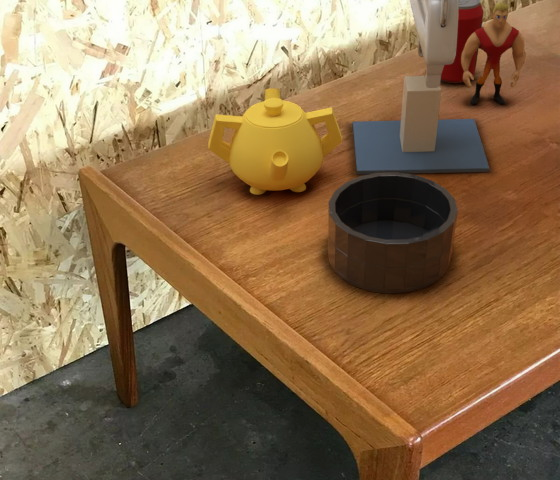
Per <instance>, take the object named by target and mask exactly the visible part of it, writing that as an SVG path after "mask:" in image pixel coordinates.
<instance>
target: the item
mask: <svg viewBox="0 0 560 480" xmlns="http://www.w3.org/2000/svg"><path fill="white" fill-rule="evenodd" d="M441 97H442V88H441V85H440V86H439V87H437V88H428V87H427V86H426V83H425V75H404V76H403V88H402V102H401V114H400V115H401V116H400V120H401V126H400V141H401V147H402V152H431V151H435V143H436V134H437V125H438V120H439V115H440V106H441Z"/></svg>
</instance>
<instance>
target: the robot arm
mask: <svg viewBox="0 0 560 480" xmlns="http://www.w3.org/2000/svg"><path fill="white" fill-rule="evenodd" d="M409 5H410V8H411V13H412V18H413V21H414V24H415V28H416V32H417V53H418V56H419V57H420V58H423V61H424V63H425V66H426V69H425V75H424V76H425V83H426V86H427V87H428V88H437V87H439V86H440V87H441V81H442V80H441V74H442V70H443V67H444V65H449V64H452V63H453V62H454V59H455V56H456V46H457V32H458V0H409Z"/></svg>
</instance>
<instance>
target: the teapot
mask: <svg viewBox="0 0 560 480" xmlns="http://www.w3.org/2000/svg"><path fill="white" fill-rule="evenodd" d="M320 123H325V127H326V131H327V133H326V134H325V135H323V136H322V137H320V133H319V132H318V130H317V128H316V126H315V125H318V124H320ZM225 129H231V130H233V133H232V135H231V139H230V142H229V143H228V142H227V141H225V140H224V139H223V137H224V133H225ZM342 143H343V134H342V131H341V129H340V126H339V123H338V120H337V117H336V114H335V111H334V109H333V107H327V108H322V109H317V110H312V111H307V112H306V111H304V109H302V107H301V106H300V105H299V104H297V103H294V102H292V101H288V100H283V99H282V98H281V89H279V88H274V87H271V88H266V89H264V100H263V101H260V102H257V103H255V104H252V105H251V106H249V107H248V108H247V110H246V111H245V112H244V113H243V115H242V116H240V115H229V114H228V115H227V114H217V113H216V114H214V118H213V122H212V126H211V130H210V134H209V138H208V142H207V147H208V151H210V152H211V153H213V154H214V155H216V156H217V157H218V158H220V159H222V160H223V161H224V162H226V163H227V164H228V165H229V167H230V169H231V171H232V173H233V174H234V175H235V176H236V177H237V178H238V179H240V180H241V181H242V182H244V184H246V185H248V186H250V188H249V192H250V193H251V194H253V195H256V196H257V195H262V194H265V193H266V192H267V191H284V190H290V191H291V192H294V193H301V192H304V191H306V189H307V185H306V184H305V183H307V182H308V181H310V179H312V177H313V176H315V175H316V174H317V173H318V172H319V170H320V169H321V168H322V165H323V162H324V159H325V157H327V156H328V155H329V154H330V153H331V152H332V151H333V150H334V149H335V148H337V147H338V146H340V144H342Z"/></svg>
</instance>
